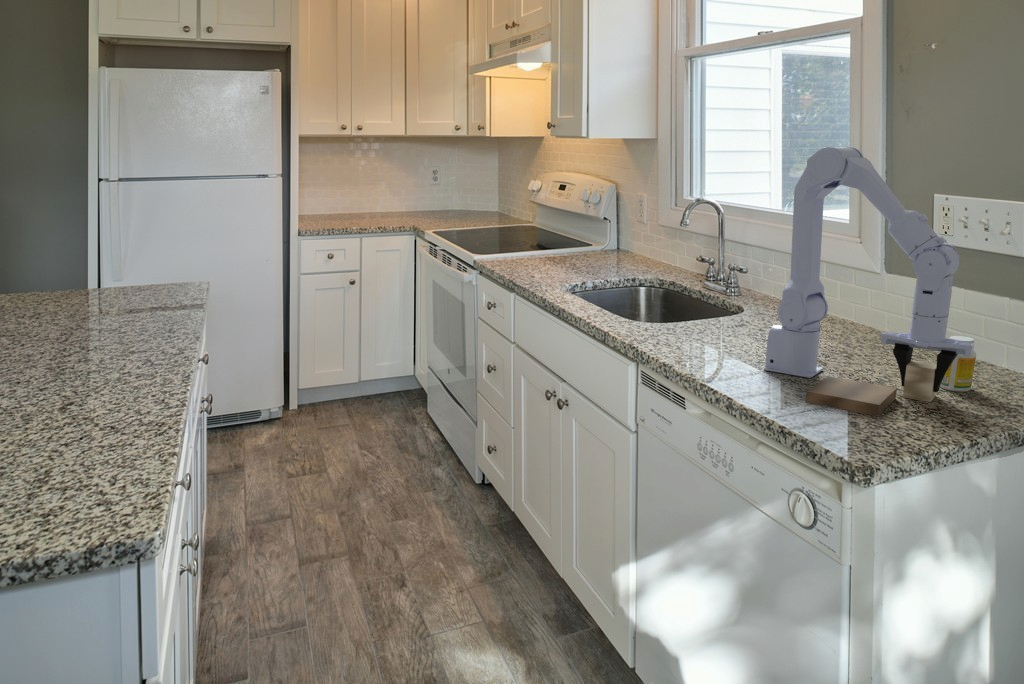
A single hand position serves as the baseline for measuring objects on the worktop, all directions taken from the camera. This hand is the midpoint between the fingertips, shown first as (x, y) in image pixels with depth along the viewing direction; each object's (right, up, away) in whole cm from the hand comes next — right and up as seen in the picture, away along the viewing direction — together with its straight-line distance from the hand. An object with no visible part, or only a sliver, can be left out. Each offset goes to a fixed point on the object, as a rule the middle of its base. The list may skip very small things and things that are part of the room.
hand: (920, 388), depth 140 cm
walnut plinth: (-13, -2, -2) cm, 14 cm away
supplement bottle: (+9, -1, +6) cm, 11 cm away
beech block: (0, -2, 0) cm, 2 cm away
